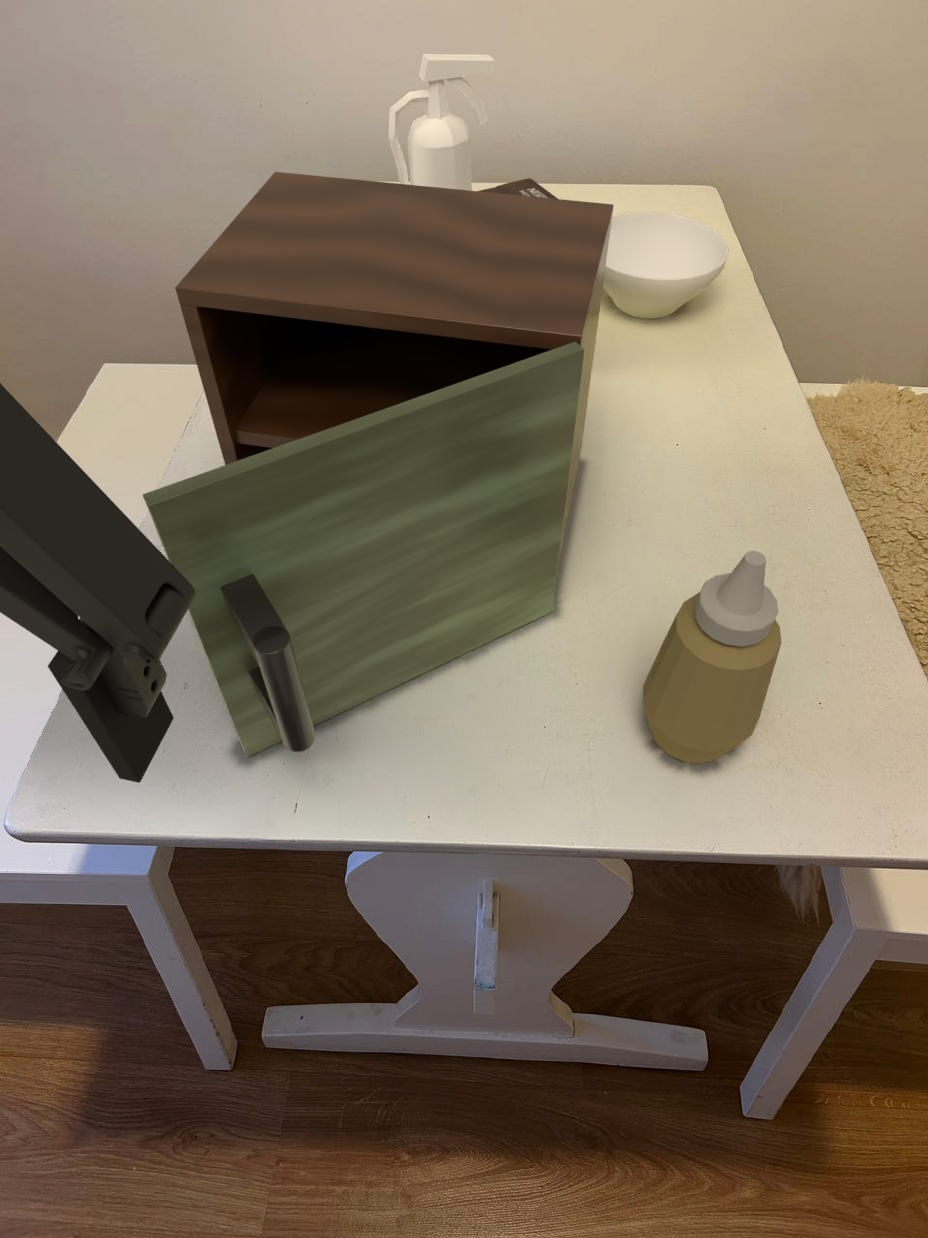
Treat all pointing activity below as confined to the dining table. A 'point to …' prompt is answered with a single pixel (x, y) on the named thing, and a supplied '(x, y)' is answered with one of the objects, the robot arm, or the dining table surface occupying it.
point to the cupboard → (383, 301)
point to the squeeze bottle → (715, 665)
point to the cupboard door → (375, 545)
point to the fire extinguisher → (440, 123)
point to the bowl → (660, 262)
